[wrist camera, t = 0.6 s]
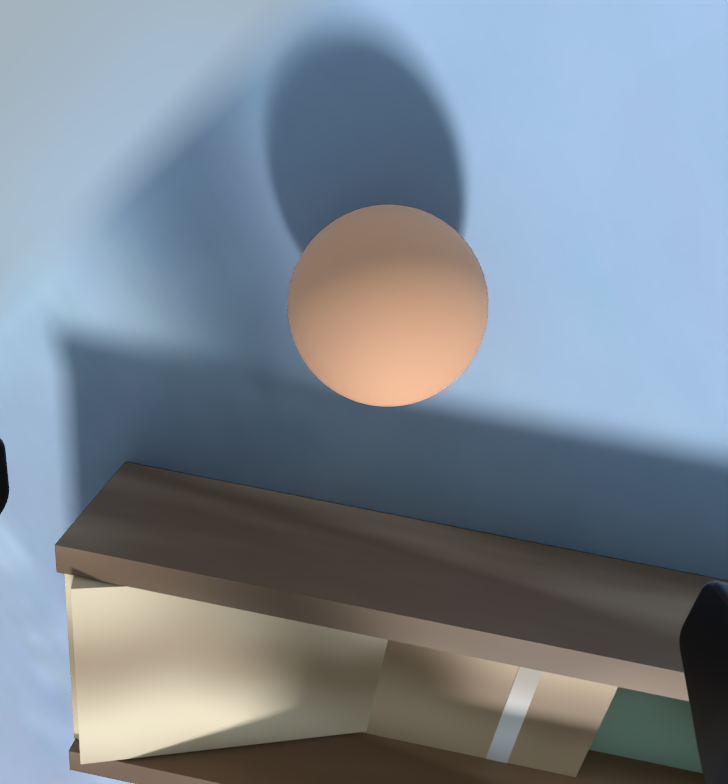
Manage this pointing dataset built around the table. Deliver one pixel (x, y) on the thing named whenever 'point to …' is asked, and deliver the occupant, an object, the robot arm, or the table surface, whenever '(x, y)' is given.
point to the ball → (387, 305)
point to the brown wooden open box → (360, 647)
